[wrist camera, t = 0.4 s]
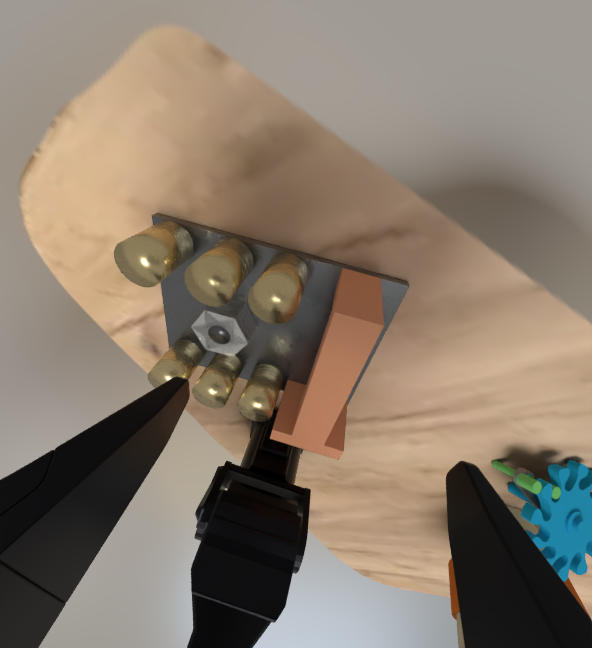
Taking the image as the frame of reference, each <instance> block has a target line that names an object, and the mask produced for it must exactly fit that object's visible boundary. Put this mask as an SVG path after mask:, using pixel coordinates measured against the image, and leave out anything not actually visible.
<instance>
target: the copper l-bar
mask: <svg viewBox="0 0 592 648" xmlns="http://www.w3.org/2000/svg"><path fill="white" fill-rule="evenodd" d="M383 327H384V318H383V303H382V288H381V278H378V277H374V276H370V275H367V274H363V273H359V272H356V271H352V270H348V269H345V268H342V271H341V274H340V277H339V280H338V283H337V287H336V292H335V297H334V302H333V307H332V311H331V314H330V317H329V320H328V323H327V326H326V329H325V332H324V335H323V338H322V341H321V344H320V347H319V350H318V353H317V356H316V359H315V362H314V365H313V368H312V371H311V374H310V377H309V380H308V383H307V385H304V384H300V383H297V382H294V381H290V380H288V381H287V384H286V387H285V390H284V394H283V397H282V400H281V403H280V406H279V410H278V413H277V416H276V419H275V423H274V426H273V429H272V433H271V437H270V439H273V440H276V441H279V442H282V443H286V444H289V445H292V446H295V447H298V448H302V449H305V450H308V451H311V452H315V453H318V454H321V455H324V456H328V457H331V458H334V459H337V460H339V458H340V457H341V455H342V453H343V452H344V439H345V426H346V413H347V401H348V396H349V394H350V392H351V390H352V388H353V386H354V384H355V382H356V381H357V379H358V377H359V375H360V373H361V371H362V369H363V367H364V365H365V363H366V361H367V359H368V357H369V355H370V353H371V351H372V349H373V347H374V345H375V343H376V341H377V339H378V337H379V335H380V333H381V331H382V329H383Z"/></svg>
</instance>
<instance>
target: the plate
mask: <svg viewBox="0 0 592 648" xmlns="http://www.w3.org/2000/svg"><path fill="white" fill-rule="evenodd" d="M152 220H153V226H152V227H150V228H148V229H146V230H144V231H142V232H140V233H138V234H136V235H134V236H132V237H130V238H128V239H126V240H124V241H122V242H120V243H119V244H117V246H116V247H115V250H114V258H115V262H116V264H117V266H118V268H119V269H120V271H121V272H122V273H123V274H124V276H125V277H126V278H128V279H129V280H130V281H132V282H133V283H135V284H137V285H139V286H142V287H153V286H155V285H157V284H158V283H159V282H161V289H162V296H163V304H164V311H165V319H166V327H167V334H168V342H169V350H168V351H167V352H166V354H165V355H164V356H163V357H162V358H161V359H160V360H159V362H158V363H157V364H156V365H155V366H154V367H153V369H152V370H151V371H150V372H149V373H148V380H149V382H150V383H151V384H152V385H153V386H154V387H155V388H157V387H158V386H160V385H162V384H163V383H165V382H167V381H168V380H170V379H172V378H173V377H177V376H178V377H182V378H185V379H187V380H189V378H190V377H191V376H192V374H193V373H194V371H195V370H196V368H197V367H198V365H200V366H203V367H206V369H205V370H204V372H203V373H202V375H201V376H200V378H199V380H198V381H197V383H196V384H195V386H194V387H193V389H192V393H193V395H194V397H195V398H196V399H197V400H198V401H199V402H200V403H202V404H203V405H205V406H208V407H211V408H221V407H223V406H224V405H225V404H226V402H227V400H228V398H229V396H230V394H231V392H232V390H233V388H234V386H235V384H236V382H237V380H238V378H239V377H240V378H243V379H247V380H248V382H247V385H246V387H245V389H244V391H243V393H242V395H241V398H240V400H239V402H238V404H237V407H238V410H239V412H240V413H241V414H242V415H243V416H245V417H246V418H248V419H250V420H253V421H259V422H263V421H267V420H269V419H270V418H271V416H272V413H273V410H274V407H275V404H276V401H277V398H278V395H279V392H280V390H283V391H284V390H285V387H286V384H287V381H288V380H290V381H294V382H297V383H300V384H304V385H307V383H308V380H309V377H310V374H311V371H312V368H313V365H314V362H315V359H316V356H317V353H318V350H319V347H320V344H321V341H322V338H323V335H324V332H325V329H326V326H327V323H328V320H329V317H330V314H331V311H332V307H333V302H334V297H335V292H336V287H337V283H338V280H339V277H340V274H341V271H342V268H345V269H348V270H352V271H356V272H359V273H363V274H367V275H370V276H374V277H378V278H381V288H382V303H383V318H384V327H383V329H382V331H381V333H380V335H379V337H378V339H377V341H376V343H375V345H374V347H373V349H372V351H371V353H370V355H369V357H368V359H367V361H366V363H365V365H364V367H363V369H362V371H361V373H360V375H359V377H358V379H357V381H356V382H355V384H354V386H353V388H352V390H351V392H350V394H349V396H348V401H347V405H348V403H349V401H350V399H351V397H352V395H353V394H354V392H355V390H356V388H357V386H358V384H359V382H360V380H361V378H362V376H363V374H364V372H365V370H366V368H367V367H368V365H369V363H370V361H371V359H372V357H373V355H374V353H375V351H376V349H377V347H378V345H379V343H380V341H381V339H382V338H383V336H384V334H385V332H386V330H387V328H388V326H389V324H390V322H391V320H392V318H393V316H394V314H395V312H396V311H397V309H398V307H399V305H400V303H401V301H402V299H403V297H404V295H405V293H406V291H407V289H408V287H409V283H408V282H407V281H403V280H399V279H396V278H392V277H388V276H385V275H381V274H377V273H374V272H370V271H367V270H363V269H359V268H356V267H352V266H348V265H345V264H341V263H337V262H334V261H330V260H326V259H323V258H319V257H315V256H312V255H308V254H304V253H301V252H297V251H294V250H290V249H286V248H283V247H279V246H275V245H272V244H268V243H264V242H261V241H257V240H253V239H250V238H246V237H242V236H239V235H235V234H232V233H228V232H224V231H221V230H217V229H213V228H210V227H206V226H202V225H199V224H195V223H191V222H188V221H184V220H180V219H177V218H173V217H169V216H166V215H162V214H159V213H156V214H154V215H152ZM230 299H233V300H237V301H240V302H244V303H246V305H247V307H248V309H249V311H250V313H251V315H252V317H253V319H254V321H255V323H256V325H257V327H256V329H255V331H254V333H253V335H252V337H251V339H250V340H249V342H248V344H247V345H246V346H244V347H243V348H242V349H241V350H240V351H239V352H238V353H236V354H235V355H234V356H233V357H230V356H227V355H223V354H220V353H217V352H213V351H210V350H207V349H205V348H204V346H203V345H202V343H201V341H200V340H199V338H198V337H197V335H196V334H195V332H194V331H193V329H192V327H191V326H192V325H193V324H194V323H195V321H196V320H197V319H198V318H199V317H200V315H201V314H202V313H203V312H204V311H205V309H206V308H207V307H208V306H213V307H218V306H222V305H225V304H226V303H227V302H228V301H229V300H230Z"/></svg>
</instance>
